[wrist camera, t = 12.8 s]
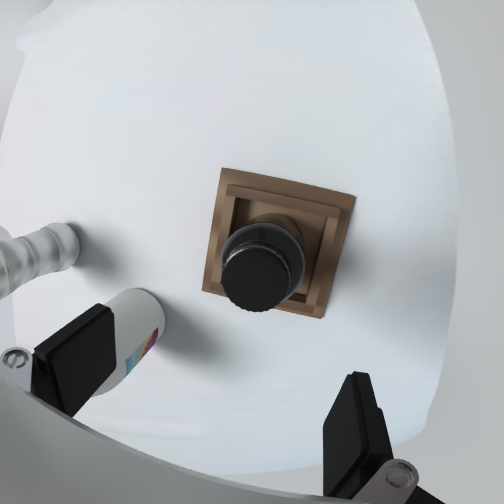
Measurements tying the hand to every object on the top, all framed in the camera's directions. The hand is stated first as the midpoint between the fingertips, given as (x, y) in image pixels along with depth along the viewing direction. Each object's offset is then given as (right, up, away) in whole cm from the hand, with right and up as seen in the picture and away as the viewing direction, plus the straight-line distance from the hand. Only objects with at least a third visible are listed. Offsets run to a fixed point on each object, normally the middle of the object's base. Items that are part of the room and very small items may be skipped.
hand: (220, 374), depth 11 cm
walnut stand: (+4, +5, +22) cm, 23 cm away
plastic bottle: (-25, +6, +26) cm, 37 cm away
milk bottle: (-13, -4, +27) cm, 30 cm away
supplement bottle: (+3, +5, +21) cm, 22 cm away
